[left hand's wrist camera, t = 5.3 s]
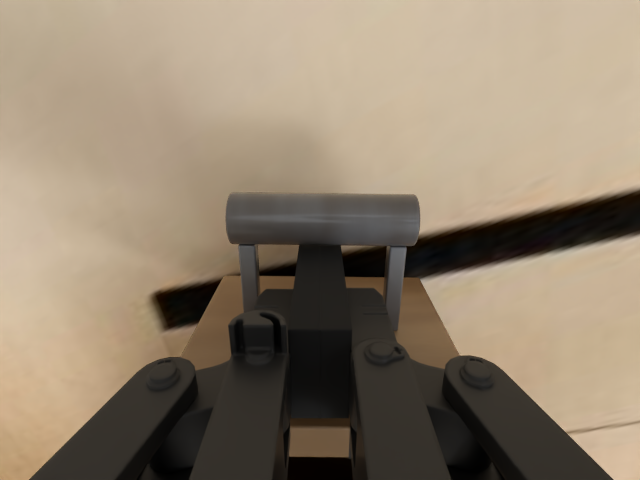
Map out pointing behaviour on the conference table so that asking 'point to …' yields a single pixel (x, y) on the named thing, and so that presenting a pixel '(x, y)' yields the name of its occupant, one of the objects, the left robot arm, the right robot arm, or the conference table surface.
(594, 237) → the conference table surface
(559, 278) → the conference table surface
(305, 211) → the drawer
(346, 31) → the conference table surface
